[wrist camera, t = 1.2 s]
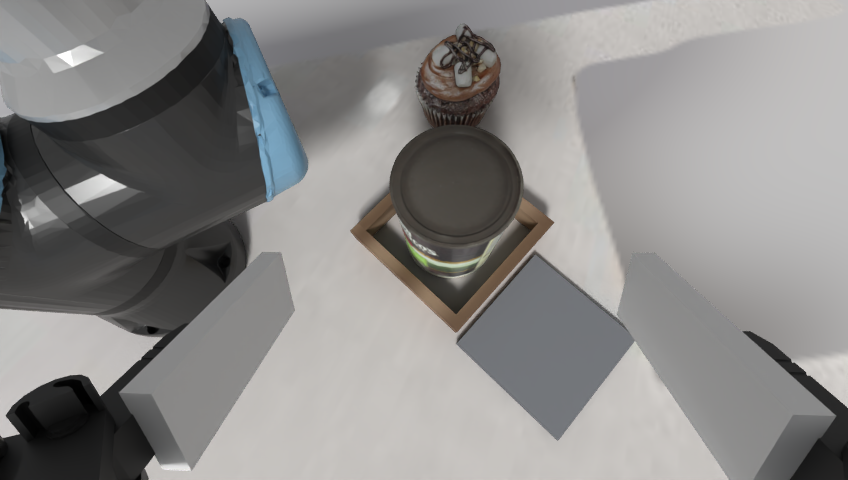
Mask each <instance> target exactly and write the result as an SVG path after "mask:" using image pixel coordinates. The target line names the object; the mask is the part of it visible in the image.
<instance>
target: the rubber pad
mask: <svg viewBox="0 0 848 480" xmlns="http://www.w3.org/2000/svg"><path fill="white" fill-rule="evenodd" d="M634 341H635V340H634V339H633V337H632V336H631V334H630V333H629V331H627V330H626V329H625V328H624V327H623V326H621V325H620V324H619V323H618V322H616V321H615V320H614V319H613V318H612V317H610V316H609V315H608V314H607V313H606V312H604V311H603V310H602V309H601V308H600V307H598V306H597V305H596V304H595V303H594V302H592V301H591V300H590V299H589V298H587V297H586V296H585V295H584V294H583V293H581V292H580V291H579V290H578V289H577V288H575V287H574V286H573V285H572V284H571V283H569V282H568V281H567V280H566V279H565V278H563V277H562V276H561V275H560V274H559V273H557V272H556V271H555V270H554V269H552V268H551V267H550V266H549V265H548V264H546V263H545V262H544V261H543V260H542V259H540V258H539V257H538V256H537V255H536V254H535V255H534V256H533V257H532V259H531V260H530V261H529V262H528V263H527V264H526V265H525V266H524V268H523V269H522V270H521V271H520V272H519V273H518V274H517V276H516V277H515V278H514V279H513V280H512V281H511V282H510V283H509V285H508V286H507V287H506V288H505V289H504V290H503V291H502V293H501V294H500V295H499V296H498V297H497V298H496V299H495V300H494V302H493V303H492V304H491V305H490V306H489V307H488V308H487V310H486V311H485V312H484V313H483V314H482V315H481V316H480V318H479V319H478V320H477V321H476V322H475V323H474V324H473V325H472V327H471V328H470V329H469V330H468V331H467V332H466V333H465V335H464V336H463V337H462V338H461V339H460V340H459V341H458V342H457V345H458V346H459V347H460V348H461V349H462V350H463V351H464V352H465V353H466V354H467V355H468V356H470V357H471V358H472V359H473V360H474V361H475V362H476V363H477V364H478V365H479V366H480V367H481V368H482V369H483V370H484V371H485V372H486V373H487V374H488V375H489V376H490V377H491V378H493V379H494V380H495V381H496V382H497V383H498V384H499V385H500V386H501V387H502V388H503V389H504V390H505V391H506V392H507V393H508V394H509V395H510V396H511V397H512V398H513V399H515V400H516V401H517V402H518V403H519V404H520V405H521V406H522V407H523V408H524V409H525V410H526V411H527V412H528V413H529V414H530V415H531V416H532V417H533V418H534V419H535V420H536V421H538V422H539V423H540V424H541V425H542V426H543V427H544V428H545V429H546V430H547V431H548V432H549V433H550V434H551V435H552V436H553V437H554V438H555V439H556V440H559V439H560V438H561V436H562V435H563V434H564V432H565V431H566V430H567V428H568V427H569V426H570V425H571V423H572V422H573V421H574V419H575V418H576V417H577V415H578V414H579V413H580V411H581V410H582V409H583V408H584V406H585V405H586V404H587V402H588V401H589V400H590V398H591V397H592V396H593V395H594V393H595V392H596V391H597V389H598V388H599V387H600V385H601V384H602V383H603V382H604V380H605V379H606V378H607V376H608V375H609V374H610V372H611V371H612V370H613V368H614V367H615V366H616V365H617V363H618V362H619V361H620V359H621V358H622V357H623V355H624V354H625V353H626V352H627V350H628V349H629V348H630V346H631V345H632V344H633V342H634Z"/></svg>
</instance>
